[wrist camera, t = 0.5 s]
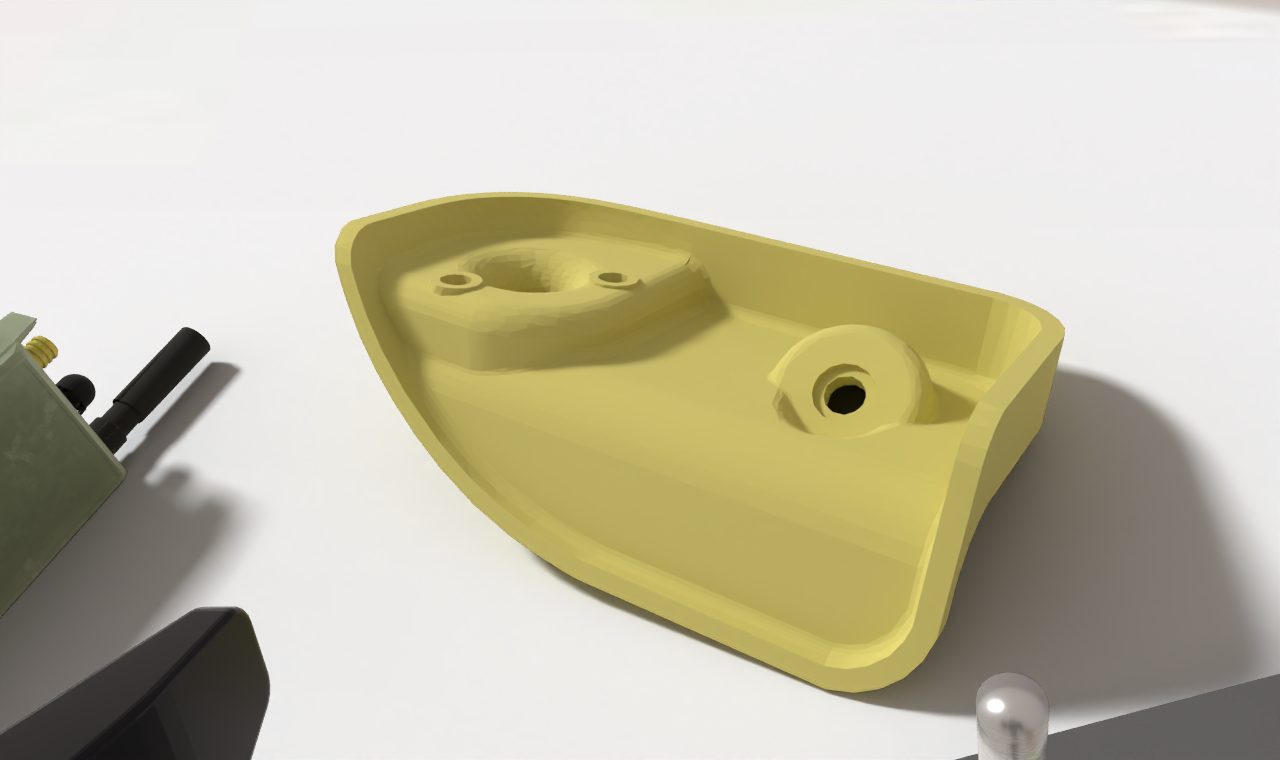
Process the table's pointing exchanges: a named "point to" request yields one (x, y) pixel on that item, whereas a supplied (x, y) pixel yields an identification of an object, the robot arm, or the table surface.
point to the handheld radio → (64, 445)
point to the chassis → (1131, 726)
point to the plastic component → (707, 413)
